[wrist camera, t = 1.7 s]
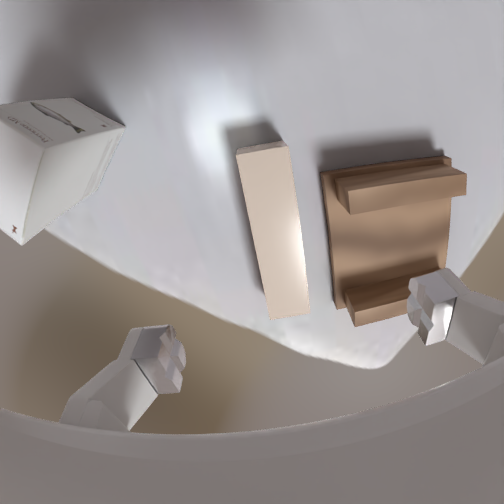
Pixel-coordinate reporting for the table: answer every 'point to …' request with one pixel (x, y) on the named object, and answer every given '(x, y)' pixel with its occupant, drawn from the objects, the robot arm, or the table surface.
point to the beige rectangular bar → (275, 226)
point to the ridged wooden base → (387, 231)
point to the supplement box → (50, 160)
